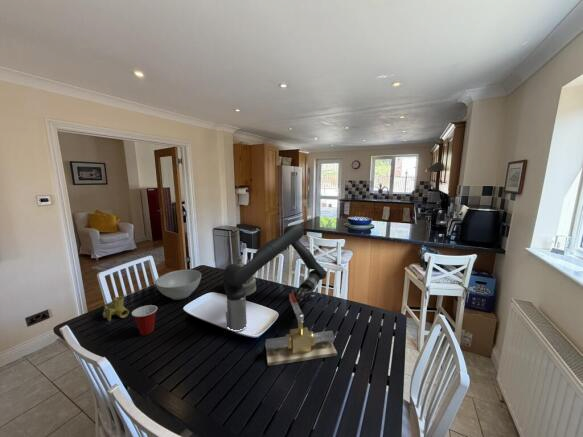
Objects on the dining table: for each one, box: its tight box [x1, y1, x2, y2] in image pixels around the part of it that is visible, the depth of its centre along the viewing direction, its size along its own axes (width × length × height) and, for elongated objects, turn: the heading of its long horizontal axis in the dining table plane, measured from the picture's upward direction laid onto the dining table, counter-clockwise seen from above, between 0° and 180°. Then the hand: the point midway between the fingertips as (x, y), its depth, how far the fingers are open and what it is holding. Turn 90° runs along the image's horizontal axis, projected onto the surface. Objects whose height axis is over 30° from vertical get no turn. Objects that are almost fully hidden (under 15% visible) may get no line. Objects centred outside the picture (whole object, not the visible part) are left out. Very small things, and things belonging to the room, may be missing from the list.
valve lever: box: [288, 292, 305, 324], centre depth 109 cm, size 20×3×3 cm, turn 12°
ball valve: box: [102, 296, 130, 322], centre depth 128 cm, size 13×10×10 cm
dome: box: [236, 254, 257, 297], centre depth 156 cm, size 20×25×20 cm
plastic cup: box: [131, 304, 158, 336], centre depth 115 cm, size 11×11×12 cm
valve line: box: [265, 322, 335, 354], centre depth 102 cm, size 30×7×13 cm, turn 101°
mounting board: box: [265, 342, 338, 367], centre depth 104 cm, size 30×12×3 cm, turn 101°
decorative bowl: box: [154, 269, 202, 301], centre depth 151 cm, size 27×27×12 cm
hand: (296, 300), depth 115 cm, fingers closed
